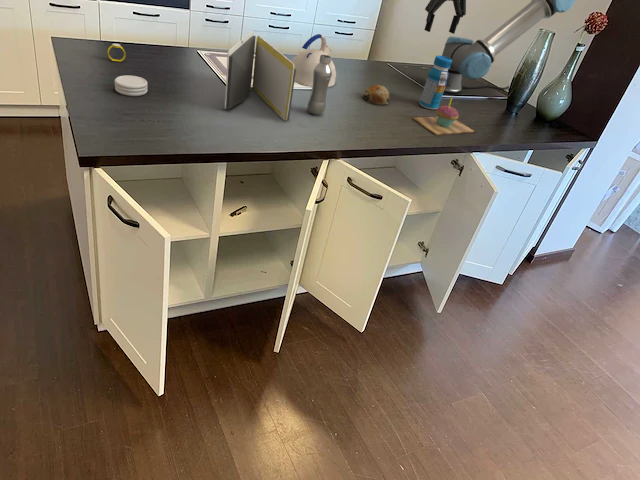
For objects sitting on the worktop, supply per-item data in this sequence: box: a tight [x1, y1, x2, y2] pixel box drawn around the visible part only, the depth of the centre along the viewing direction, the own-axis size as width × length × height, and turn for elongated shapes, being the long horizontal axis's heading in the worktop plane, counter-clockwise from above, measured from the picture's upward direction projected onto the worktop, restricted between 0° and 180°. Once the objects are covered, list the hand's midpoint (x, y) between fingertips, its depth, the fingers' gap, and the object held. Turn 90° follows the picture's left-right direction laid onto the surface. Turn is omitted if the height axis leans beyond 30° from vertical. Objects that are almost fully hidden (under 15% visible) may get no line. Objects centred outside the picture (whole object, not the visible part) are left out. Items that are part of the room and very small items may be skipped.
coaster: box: [114, 74, 149, 97], centre depth 155 cm, size 10×10×4 cm
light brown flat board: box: [412, 116, 475, 136], centre depth 184 cm, size 20×14×1 cm
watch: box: [107, 43, 127, 63], centre depth 174 cm, size 6×3×6 cm, turn 114°
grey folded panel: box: [224, 30, 296, 122], centre depth 161 cm, size 35×22×20 cm, turn 30°
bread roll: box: [363, 84, 390, 106], centre depth 192 cm, size 10×10×8 cm
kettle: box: [291, 33, 337, 88], centre depth 196 cm, size 20×21×18 cm
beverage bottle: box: [419, 55, 452, 111], centre depth 194 cm, size 8×8×20 cm
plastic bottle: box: [307, 55, 332, 116], centre depth 165 cm, size 6×7×20 cm
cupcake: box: [436, 94, 460, 127], centre depth 180 cm, size 9×8×12 cm
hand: (439, 32), depth 195 cm, fingers open, 13 cm apart
